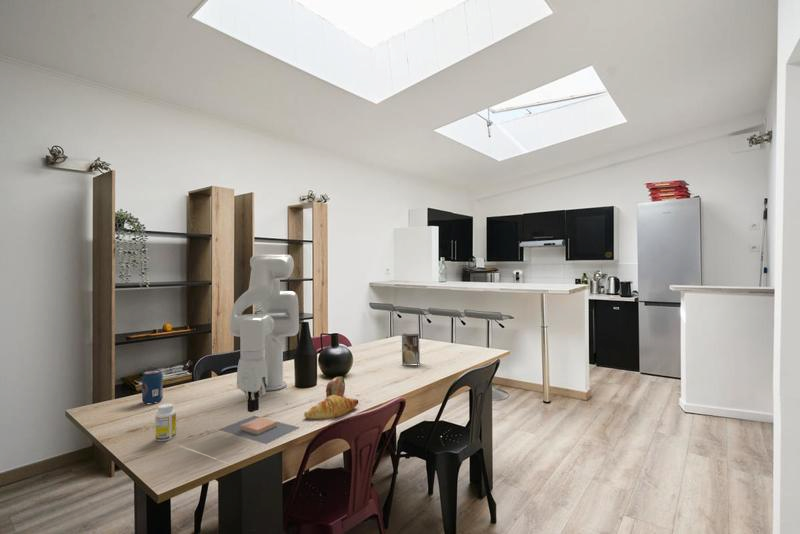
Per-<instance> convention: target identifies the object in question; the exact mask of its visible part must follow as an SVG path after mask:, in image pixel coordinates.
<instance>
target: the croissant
mask: <svg viewBox="0 0 800 534" xmlns="http://www.w3.org/2000/svg"><path fill="white" fill-rule="evenodd" d="M358 404H359V399H356V398H355V399H354V398H347V397H345V396H343V397H341V396H340V395H331V396H328V397H326V398H324V400H321V401H319V402H318V403H317V404H316V405H314V406H312V407H311V408H309V409H308V410H307V411H305V412H304V414H303V417H304V418H305V419H308V420H309V419H311V420H317V419H318V420H321V419H324V420H325V419H333V418H338V417H341V416H343V415H345V414H347V413H348V412H350V411H352V410H353V409H355V408H356V407H357V405H358Z"/></svg>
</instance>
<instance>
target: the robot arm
mask: <svg viewBox="0 0 800 534" xmlns="http://www.w3.org/2000/svg"><path fill="white" fill-rule="evenodd" d="M249 266H250V268H251V270H250V276H249V278H250V279H249V283H248V289H247V290H246V291H244V292H243V293H242V295H240V296H239V297H238V298H237V300H236V301H235V302H234V304H233V306H232V308H231V314H230V320H229V331H230V333H231V335H233V336H234V337H239V338H240V340H239V341H240V344H239V345H240V347H239V348H240V358H239V360H238V365H237V372H236V388H237V389H238V390H240V391H241V392H243V393H244V394H245V398H246V401H247V403H246V404H247V412H249V413H254V412H257V411H259V409H260V407H259V402H260V400H259V399H260V397H261V396H263V395H266V392H270V391H272V392H273V391H278V390H282V389H284V388H286V387H287V385H288V384H287V381H284V372H283V371H284V369H283V368H284V367H283V366H284V365H283V364H284V363H283V361H284V358H283V355H284V354H283V351H284V348H283V344H282V342H281V341H280V340H279V339H278V338H279V337H295V336H297V335H298V333H299V331H300V315H299V312H300V311H299V310H300V309H299V296H298V295H297V293H296V292H295V291H292V290H281V279H289V278H290V277H291V276H292V274H293V272H294V267H295V262H294V258H293V257H292V255H291V254H273V253H272V254H271V253H270V254H268V253H267V254H256V255H253V256H251V257H250V259H249ZM258 303H260V305H259V306H260V310H261V311H262V312H263V313H258V314H257V313H251V314H249V313H248V314H246V313H245V314H243V312H244V311H245V310H246V309H247V308H249V307H252V306H254V305H256V304H258ZM266 313H267V314H266ZM280 313H281V314H280ZM283 313H285V314H283Z"/></svg>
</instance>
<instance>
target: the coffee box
mask: <svg viewBox="0 0 800 534" xmlns="http://www.w3.org/2000/svg"><path fill="white" fill-rule="evenodd" d="M420 353H421V352H420V333H402V335H401V359H402V361H401V362H402V364H417V365H418V364H419V363H420V364H421V358H420ZM402 364H401V365H402ZM420 364H419V365H420ZM417 365H416V366H417Z"/></svg>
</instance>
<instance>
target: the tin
mask: <svg viewBox="0 0 800 534" xmlns="http://www.w3.org/2000/svg"><path fill="white" fill-rule="evenodd" d="M345 388H346V384H345V378H344V376H336V377H334V378H333V379H331V380H330V381H329V382H328V383H327V385H326V389H325V395H326V396H325V397H326V398H327V397H328V396H331V395H340V396H341V397H344V394H345V390H346V389H345Z"/></svg>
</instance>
